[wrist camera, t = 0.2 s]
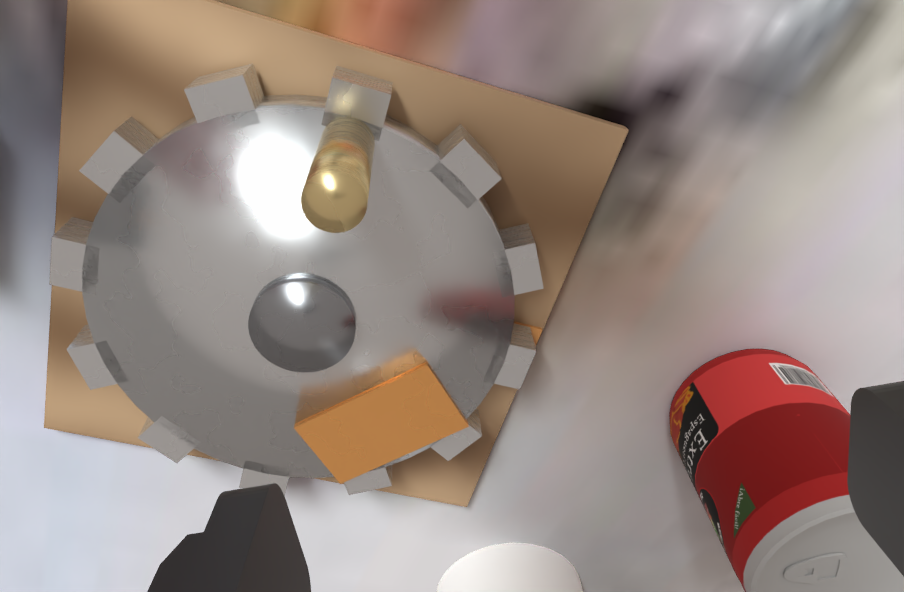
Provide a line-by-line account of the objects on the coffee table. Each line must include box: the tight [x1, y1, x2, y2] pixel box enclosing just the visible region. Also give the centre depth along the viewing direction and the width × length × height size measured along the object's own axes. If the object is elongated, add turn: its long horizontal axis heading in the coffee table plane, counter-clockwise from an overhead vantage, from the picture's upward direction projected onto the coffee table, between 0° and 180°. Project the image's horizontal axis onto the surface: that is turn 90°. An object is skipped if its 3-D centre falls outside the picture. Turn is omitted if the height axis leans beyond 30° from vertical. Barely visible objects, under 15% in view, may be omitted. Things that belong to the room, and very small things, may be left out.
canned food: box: [670, 349, 904, 592], centre depth 33 cm, size 8×8×11 cm
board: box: [44, 0, 629, 507], centre depth 33 cm, size 22×22×1 cm
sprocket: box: [49, 63, 544, 495], centre depth 29 cm, size 20×20×8 cm
